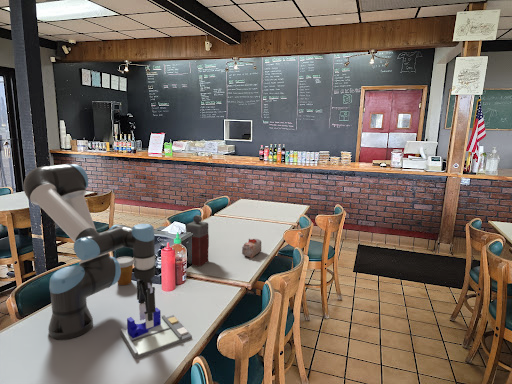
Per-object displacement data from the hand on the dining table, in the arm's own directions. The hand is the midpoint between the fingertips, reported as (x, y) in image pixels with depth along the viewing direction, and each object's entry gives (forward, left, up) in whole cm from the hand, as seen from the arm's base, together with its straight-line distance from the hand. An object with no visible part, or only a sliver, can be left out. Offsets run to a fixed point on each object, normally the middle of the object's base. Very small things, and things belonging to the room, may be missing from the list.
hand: (146, 322), depth 133 cm
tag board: (+4, +2, -4) cm, 6 cm away
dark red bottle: (-51, +48, -4) cm, 70 cm away
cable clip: (0, -1, -3) cm, 3 cm away
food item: (-43, +81, -4) cm, 92 cm away
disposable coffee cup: (-47, +5, -4) cm, 47 cm away
